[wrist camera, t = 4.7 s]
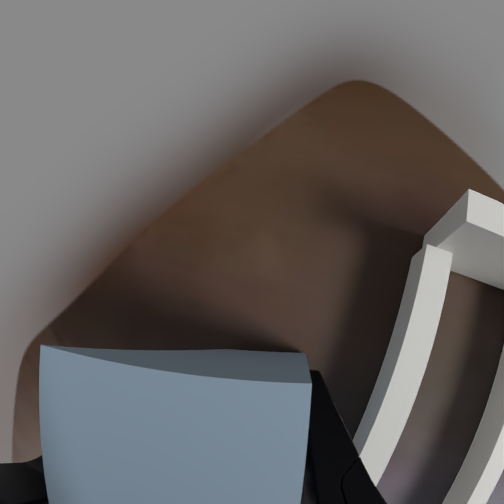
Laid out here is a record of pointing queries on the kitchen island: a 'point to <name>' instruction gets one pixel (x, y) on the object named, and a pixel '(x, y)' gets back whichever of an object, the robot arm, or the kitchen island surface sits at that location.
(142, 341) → the kitchen island surface
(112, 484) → the blue gray block
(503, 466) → the track
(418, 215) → the kitchen island surface
